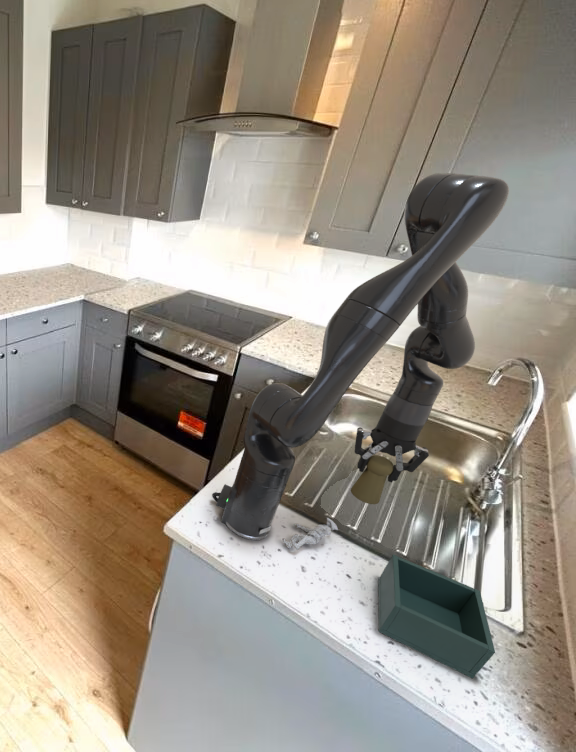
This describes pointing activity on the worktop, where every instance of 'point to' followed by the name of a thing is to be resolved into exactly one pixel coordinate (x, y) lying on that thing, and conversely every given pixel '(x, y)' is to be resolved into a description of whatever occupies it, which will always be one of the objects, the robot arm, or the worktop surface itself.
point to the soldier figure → (311, 534)
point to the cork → (372, 480)
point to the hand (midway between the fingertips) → (375, 474)
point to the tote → (434, 616)
